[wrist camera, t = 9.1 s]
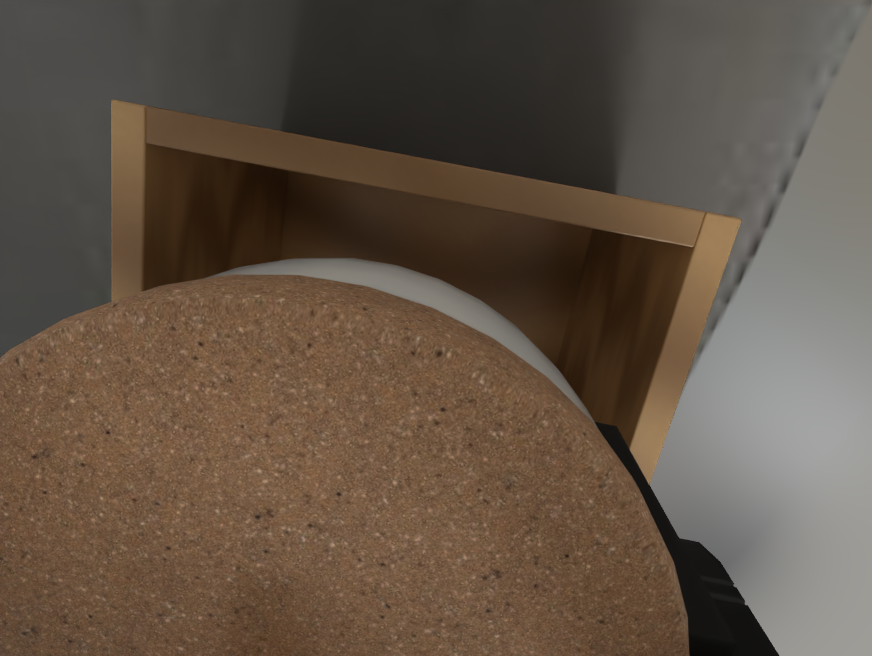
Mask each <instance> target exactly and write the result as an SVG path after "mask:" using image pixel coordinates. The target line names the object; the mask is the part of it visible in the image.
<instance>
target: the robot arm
mask: <svg viewBox="0 0 872 656" xmlns="http://www.w3.org/2000/svg"><path fill="white" fill-rule="evenodd" d="M595 424H596V426H597V427H598V429H599V431H600V432H601V434H602V435H603V437H604V438H605V440H606V441H607V442H608V444H609V445H610V447H611V448H612V449H613V451H614V452H615V454H616V455H617V456H618V458H619V459H620V461H621V462H622V463H623V465H624V466H625V468H626V469H627V470H628V472H629V473H630V475H631V476H632V477H633V479H634V481H635V483H636V485H637V486H638V488H639V490H640V492H641V494H642V496H643V498H644V500H645V502H646V504H647V507H648V509H649V511H650V513H651V515H652V517H653V519H654V521H655V524H656V526H657V528H658V530H659V532H660V534H661V536H662V538H663V541H664V543H665V545H666V547H667V549H668V551H669V553H670V555H671V557H672V560H673V562H674V565H675V569H676V573H677V577H678V581H679V585H680V589H681V593H682V597H683V601H684V605H685V609H686V613H687V617H688V637H689V656H779V654H778V653H777V652H776V650H775V648H774V647H773V645H772V643H771V642H770V640H769V639H768V637H767V635H766V634H765V632H764V631H763V629H762V627H761V626H760V624H759V623H758V621H757V619H756V618H755V616H754V615H753V613H752V612H751V610H750V609H749V607H748V606H747V605H745V600H744V599H743V598H742V596H741V594H740V593H739V591H738V589H737V588H736V587H734V586H733V584H734V583H733V581H732V580H731V578H730V577H729V575H728V573H727V572H726V570H725V569H724V567H723V565H722V564H721V562H720V561H719V560H718V559H716V558H715V557H714V556H713V555H712V554H711V553H710V552H709V551H708V550H707V549H706V548H705V547H704V546H703V545H701V544H700V543H699V542H695V541H690V540H685V539H680V538H679V537H678V536H677V534H676V532H675V530H674V528H673V527H672V525H671V523H670V521H669V519H668V518H667V516H666V514H665V512H664V510H663V509H662V507H661V505H660V503H659V502H658V500H657V498H656V496H655V494H654V493H653V491H652V489H651V487H650V485H649V483H648V482H647V480H646V478H645V476H644V474H643V473H642V471H641V469H640V467H639V465H638V464H637V462H636V460H635V458H634V457H633V455H632V453H631V451H630V449H629V448H628V446H627V444H626V442H625V440H624V439H623V437H622V435H621V433H620V431H619V430H618V428H617V426H614V425H609V424H603V423H598V422H595Z"/></svg>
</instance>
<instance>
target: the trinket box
mask: <svg viewBox="0 0 872 656" xmlns="http://www.w3.org/2000/svg"><path fill="white" fill-rule="evenodd" d="M0 656H689V637H688V617H687V613H686V609H685V605H684V601H683V597H682V593H681V589H680V585H679V581H678V577H677V573H676V569H675V565H674V562H673V560H672V557H671V555H670V553H669V551H668V549H667V547H666V545H665V543H664V541H663V538H662V536H661V534H660V532H659V530H658V528H657V526H656V524H655V521H654V519H653V517H652V515H651V513H650V511H649V509H648V507H647V504H646V502H645V500H644V498H643V496H642V494H641V492H640V490H639V488H638V486H637V485H636V483H635V481H634V479H633V477H632V476H631V475H630V473H629V472H628V470H627V469H626V468H625V466H624V465H623V463H622V462H621V461H620V459H619V458H618V456H617V455H616V454H615V452H614V451H613V449H612V448H611V447H610V445H609V444H608V442H607V441H606V440H605V438H604V437H603V435H602V434H601V432H600V431H599V429H598V427H597V426H596V424H595V422H594V420H593V419H592V417H591V415H590V414H589V412H588V410H587V409H586V407H585V406H584V404H583V403H582V402H581V400H580V399H579V397H578V396H577V395H576V393H575V392H574V390H573V389H572V388H571V386H570V385H569V383H568V382H567V380H566V379H565V378H564V376H563V375H562V373H561V372H560V371H559V370H558V369H557V367H556V366H555V365H554V364H553V363H552V362H551V361H550V360H549V359H548V357H547V356H546V355H545V354H544V353H543V352H542V351H541V350H540V349H539V348H538V347H537V346H536V345H535V344H534V343H533V342H532V341H531V340H530V339H529V338H528V337H527V336H526V335H525V334H524V333H523V332H522V331H521V330H520V329H519V328H518V327H517V326H516V325H514V324H513V323H511V322H510V321H509V320H507V319H506V318H505V317H503V316H502V315H500V314H499V313H498V312H496V311H495V310H493V309H492V308H491V307H489V306H488V305H487V304H485V303H484V302H482V301H481V300H479V299H478V298H476V297H474V296H472V295H470V294H468V293H466V292H464V291H462V290H460V289H458V288H456V287H454V286H452V285H450V284H448V283H446V282H444V281H442V280H440V279H437V278H434V277H431V276H428V275H425V274H422V273H419V272H416V271H413V270H410V269H407V268H404V267H401V266H398V265H392V264H386V263H380V262H374V261H368V260H362V259H356V258H298V259H287V260H281V261H275V262H269V263H262V264H256V265H250V266H243V267H238V268H235V269H232V270H228V271H225V272H222V273H219V274H215V275H212V276H209V277H206V278H203V279H199V280H192V281H186V282H180V283H173V284H167V285H162V286H158V287H155V288H152V289H149V290H146V291H143V292H140V293H137V294H134V295H131V296H128V297H125V298H122V299H119V300H116V301H113V302H110V303H107V304H105V305H102V306H99V307H96V308H93V309H90V310H87V311H84V312H81V313H79V314H76V315H73V316H71V317H68V318H66V319H63V320H61V321H60V322H58V323H56V324H54V325H53V326H51V327H49V328H47V329H46V330H44V331H42V332H40V333H39V334H37V335H35V336H33V337H32V338H30V339H28V340H26V341H25V342H23V343H21V344H19V345H17V346H16V347H14V348H12V349H10V350H9V351H7V352H6V353H5V354H4V355H3V356H2V357H1V358H0Z"/></svg>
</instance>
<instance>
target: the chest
mask: <svg viewBox="0 0 872 656" xmlns="http://www.w3.org/2000/svg"><path fill="white" fill-rule="evenodd" d="M111 199H112V302H113V301H116V300H119V299H122V298H125V297H128V296H131V295H134V294H137V293H140V292H143V291H146V290H149V289H152V288H155V287H158V286H162V285H167V284H173V283H180V282H186V281H192V280H199V279H203V278H206V277H209V276H212V275H215V274H219V273H222V272H225V271H228V270H232V269H235V268H238V267H243V266H250V265H256V264H262V263H269V262H275V261H281V260H287V259H298V258H356V259H362V260H368V261H374V262H380V263H386V264H392V265H398V266H401V267H404V268H407V269H410V270H413V271H416V272H419V273H422V274H425V275H428V276H431V277H434V278H437V279H440V280H442V281H444V282H446V283H448V284H450V285H452V286H454V287H456V288H458V289H460V290H462V291H464V292H466V293H468V294H470V295H472V296H474V297H476V298H478V299H479V300H481V301H482V302H484V303H485V304H487V305H488V306H489V307H491V308H492V309H493V310H495V311H496V312H498V313H499V314H500V315H502V316H503V317H505V318H506V319H507V320H509V321H510V322H511V323H513V324H514V325H516V326H517V327H518V328H519V329H520V330H521V331H522V332H523V333H524V334H525V335H526V336H527V337H528V338H529V339H530V340H531V341H532V342H533V343H534V344H535V345H536V346H537V347H538V348H539V349H540V350H541V351H542V352H543V353H544V354H545V355H546V356H547V357H548V359H549V360H550V361H551V362H552V363H553V364H554V365H555V366H556V367H557V369H558V370H559V371H560V372H561V373H562V375H563V376H564V378H565V379H566V380H567V382H568V383H569V385H570V386H571V388H572V389H573V390H574V392H575V393H576V395H577V396H578V397H579V399H580V400H581V402H582V403H583V404H584V406H585V407H586V409H587V410H588V412H589V414H590V415H591V417H592V419H593V420H594V422H598V423H603V424H609V425H614V426H617V428H618V430H619V431H620V433H621V435H622V437H623V439H624V440H625V442H626V444H627V446H628V448H629V449H630V451H631V453H632V455H633V457H634V458H635V460H636V462H637V464H638V465H639V467H640V469H641V471H642V473H643V474H644V476H645V478H646V480H647V482H648V483H649V485H650V482H651V479H652V476H653V473H654V470H655V467H656V464H657V462H658V459H659V456H660V453H661V450H662V447H663V444H664V441H665V439H666V435H667V433H668V430H669V427H670V424H671V421H672V418H673V416H674V413H675V410H676V407H677V404H678V401H679V398H680V396H681V393H682V390H683V387H684V384H685V381H686V378H687V375H688V373H689V370H690V367H691V364H692V361H693V358H694V355H695V352H696V350H697V347H698V344H699V341H700V338H701V335H702V332H703V329H704V327H705V324H706V321H707V318H708V315H709V312H710V309H711V306H712V304H713V301H714V298H715V295H716V292H717V289H718V286H719V283H720V281H721V278H722V275H723V272H724V269H725V266H726V263H727V260H728V258H729V255H730V252H731V249H732V246H733V243H734V240H735V237H736V235H737V232H738V229H739V226H740V223H741V219H740V218H737V217H732V216H727V215H721V214H716V213H711V212H705V211H700V210H695V209H690V208H684V207H679V206H674V205H668V204H663V203H658V202H653V201H647V200H642V199H637V198H631V197H626V196H621V195H616V194H610V193H605V192H600V191H595V190H589V189H584V188H579V187H573V186H568V185H563V184H558V183H552V182H547V181H542V180H536V179H531V178H526V177H521V176H515V175H510V174H505V173H499V172H494V171H489V170H484V169H478V168H473V167H468V166H462V165H457V164H452V163H447V162H441V161H436V160H431V159H426V158H420V157H415V156H410V155H404V154H399V153H394V152H389V151H383V150H378V149H373V148H367V147H362V146H357V145H352V144H346V143H341V142H336V141H330V140H325V139H320V138H315V137H309V136H304V135H299V134H293V133H288V132H283V131H278V130H272V129H267V128H262V127H257V126H251V125H246V124H241V123H235V122H230V121H225V120H220V119H214V118H209V117H204V116H198V115H193V114H188V113H183V112H177V111H172V110H167V109H161V108H156V107H151V106H146V105H140V104H135V103H130V102H124V101H119V100H112V101H111Z"/></svg>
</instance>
